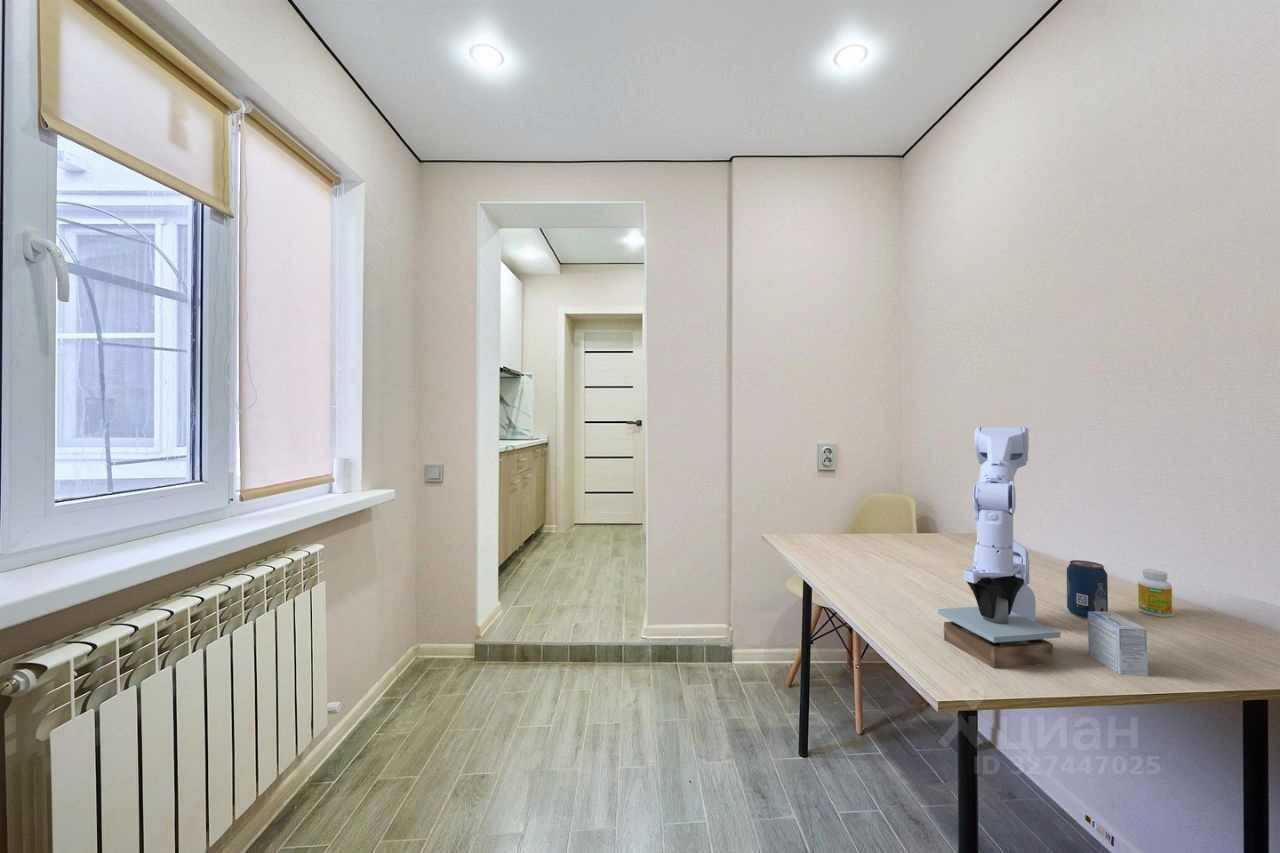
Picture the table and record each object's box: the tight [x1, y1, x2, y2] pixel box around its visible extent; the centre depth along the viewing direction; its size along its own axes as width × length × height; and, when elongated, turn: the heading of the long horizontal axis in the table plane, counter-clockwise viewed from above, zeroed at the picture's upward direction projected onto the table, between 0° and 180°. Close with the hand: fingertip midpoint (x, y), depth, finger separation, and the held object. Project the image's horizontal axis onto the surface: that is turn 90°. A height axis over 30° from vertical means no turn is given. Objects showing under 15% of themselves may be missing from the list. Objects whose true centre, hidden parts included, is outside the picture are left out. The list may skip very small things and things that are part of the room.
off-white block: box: [960, 628, 991, 644], centre depth 97 cm, size 4×4×3 cm
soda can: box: [1066, 559, 1109, 621], centre depth 112 cm, size 7×7×12 cm
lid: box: [937, 597, 1061, 643], centre depth 94 cm, size 14×14×6 cm
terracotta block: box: [1000, 640, 1032, 646], centre depth 92 cm, size 4×4×3 cm
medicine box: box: [1087, 611, 1149, 677], centre depth 89 cm, size 8×4×9 cm, turn 168°
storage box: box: [943, 621, 1054, 670], centre depth 94 cm, size 12×12×4 cm
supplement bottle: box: [1137, 568, 1173, 618], centre depth 113 cm, size 5×5×10 cm
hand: (995, 615), depth 94 cm, fingers closed on lid, 4 cm apart
